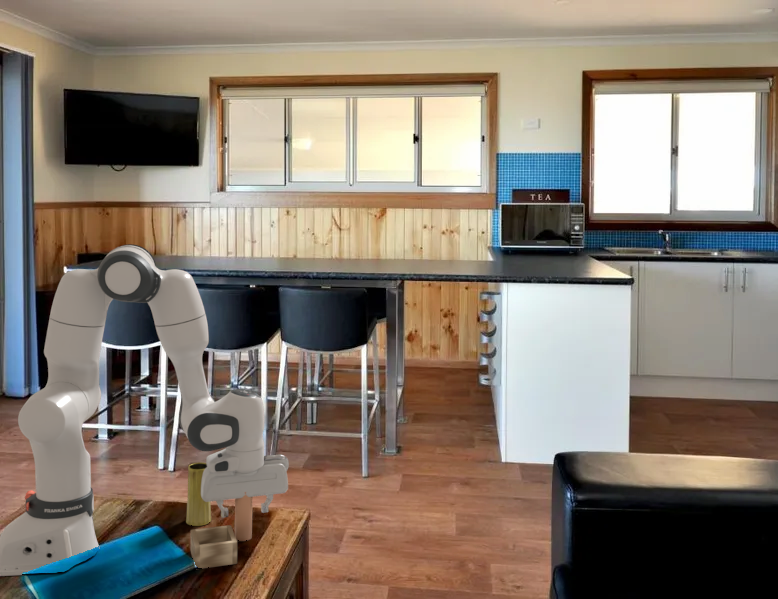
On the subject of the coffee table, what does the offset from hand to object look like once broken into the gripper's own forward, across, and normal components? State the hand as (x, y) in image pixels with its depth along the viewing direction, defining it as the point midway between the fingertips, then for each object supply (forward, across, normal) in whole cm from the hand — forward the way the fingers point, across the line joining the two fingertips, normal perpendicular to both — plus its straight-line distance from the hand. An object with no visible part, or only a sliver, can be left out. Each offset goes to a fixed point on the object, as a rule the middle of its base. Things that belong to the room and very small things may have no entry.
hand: (244, 514), depth 170 cm
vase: (+6, +9, -12) cm, 16 cm away
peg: (+6, 0, 0) cm, 6 cm away
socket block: (+6, +8, +8) cm, 13 cm away
